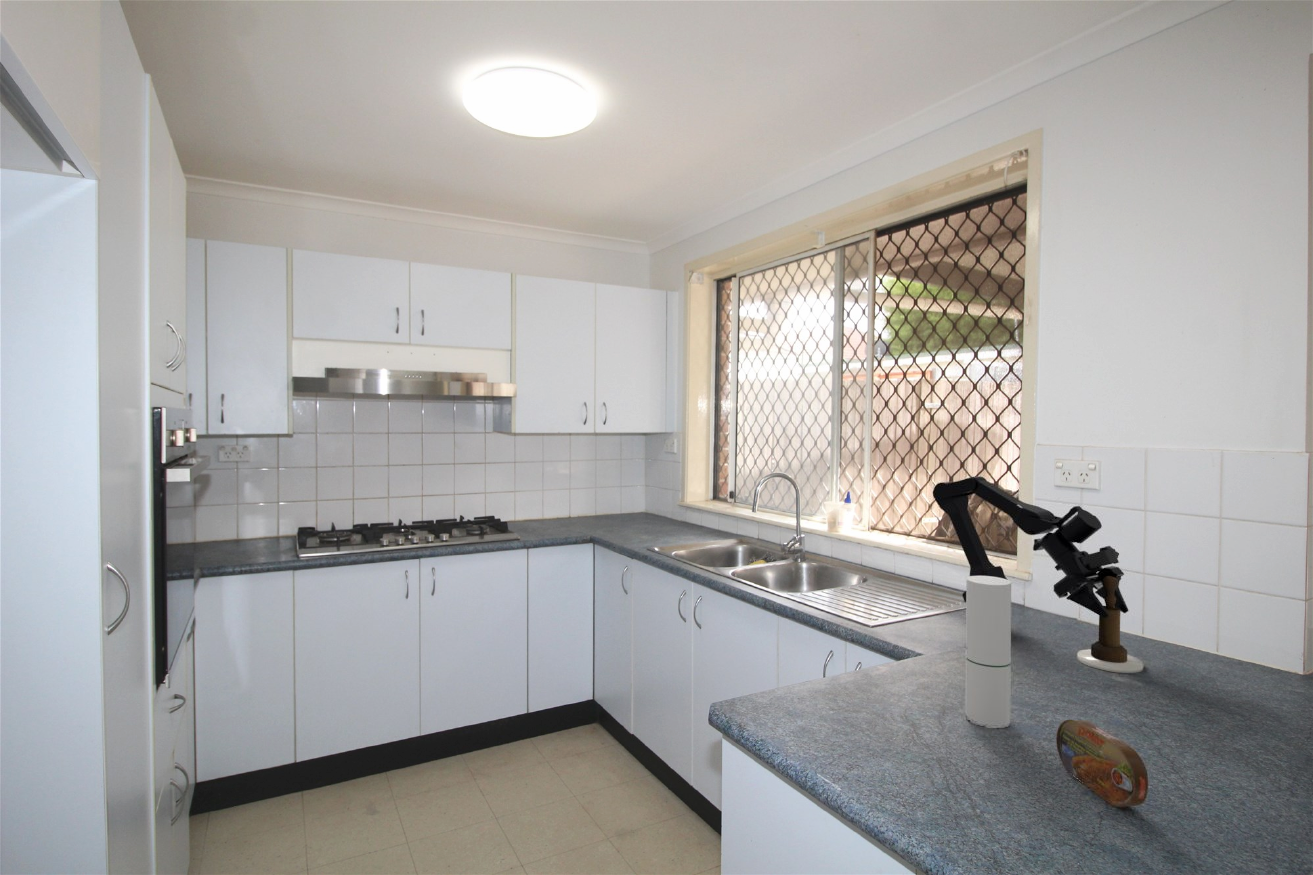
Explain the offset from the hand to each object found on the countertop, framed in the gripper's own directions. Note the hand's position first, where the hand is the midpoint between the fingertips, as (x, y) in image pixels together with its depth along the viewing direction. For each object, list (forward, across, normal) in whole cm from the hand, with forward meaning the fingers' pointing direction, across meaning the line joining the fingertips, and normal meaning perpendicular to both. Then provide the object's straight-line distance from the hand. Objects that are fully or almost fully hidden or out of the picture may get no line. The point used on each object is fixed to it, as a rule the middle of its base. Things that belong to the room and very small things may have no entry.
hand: (1117, 614), depth 145 cm
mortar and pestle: (+6, 0, +8) cm, 10 cm away
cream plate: (+7, 0, +9) cm, 11 cm away
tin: (+26, -56, -10) cm, 62 cm away
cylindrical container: (+11, -49, +5) cm, 51 cm away
